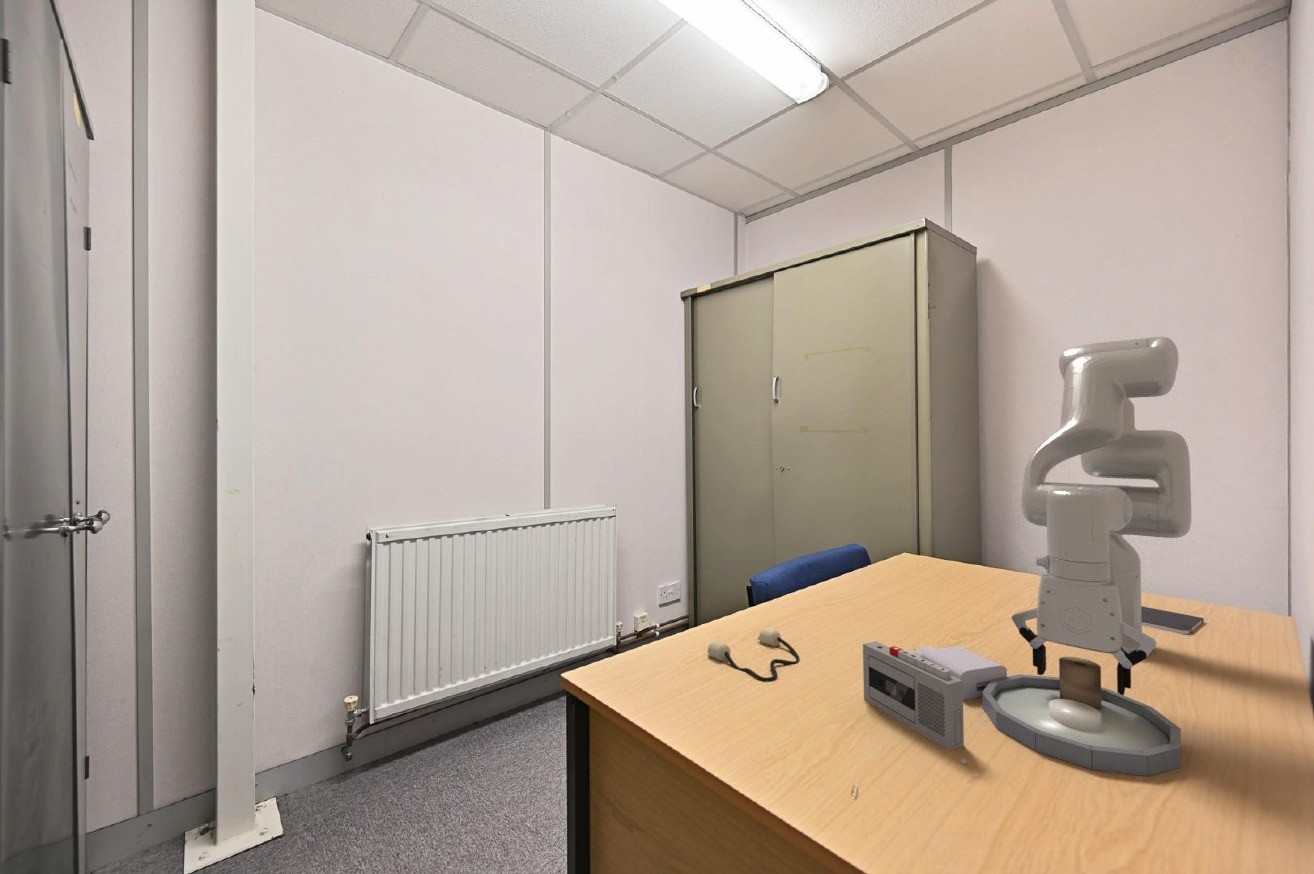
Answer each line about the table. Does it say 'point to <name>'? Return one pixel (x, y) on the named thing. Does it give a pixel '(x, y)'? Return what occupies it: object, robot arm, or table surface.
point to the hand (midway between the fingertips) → (1080, 681)
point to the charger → (964, 667)
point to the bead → (1080, 681)
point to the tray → (1083, 726)
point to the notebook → (1169, 620)
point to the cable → (765, 636)
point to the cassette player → (915, 692)
